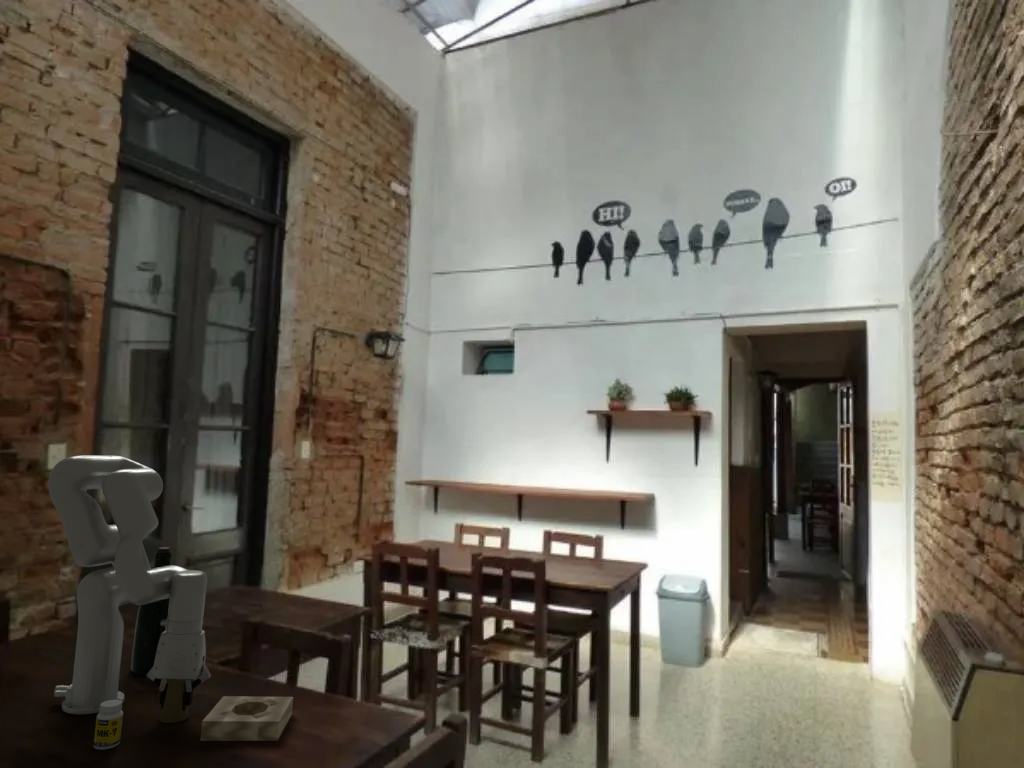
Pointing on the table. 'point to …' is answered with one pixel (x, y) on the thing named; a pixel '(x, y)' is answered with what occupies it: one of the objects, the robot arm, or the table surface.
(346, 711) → the table surface
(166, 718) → the cork
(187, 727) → the table surface
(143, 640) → the wine bottle
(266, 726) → the jig
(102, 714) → the supplement bottle
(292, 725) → the table surface
